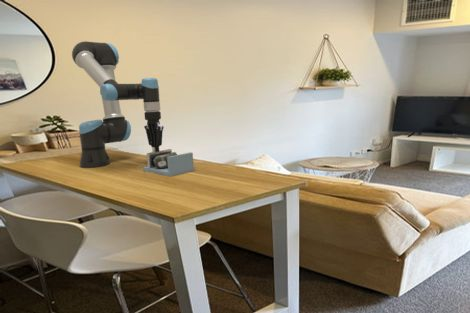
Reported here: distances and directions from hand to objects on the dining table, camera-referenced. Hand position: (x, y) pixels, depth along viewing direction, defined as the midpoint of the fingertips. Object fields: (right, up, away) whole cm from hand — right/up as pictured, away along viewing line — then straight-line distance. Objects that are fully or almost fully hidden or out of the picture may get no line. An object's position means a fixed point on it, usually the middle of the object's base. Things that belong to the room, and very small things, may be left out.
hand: (156, 159), depth 166 cm
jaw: (+2, -3, -2) cm, 4 cm away
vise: (+7, -5, -5) cm, 10 cm away
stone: (+7, -4, -5) cm, 9 cm away
